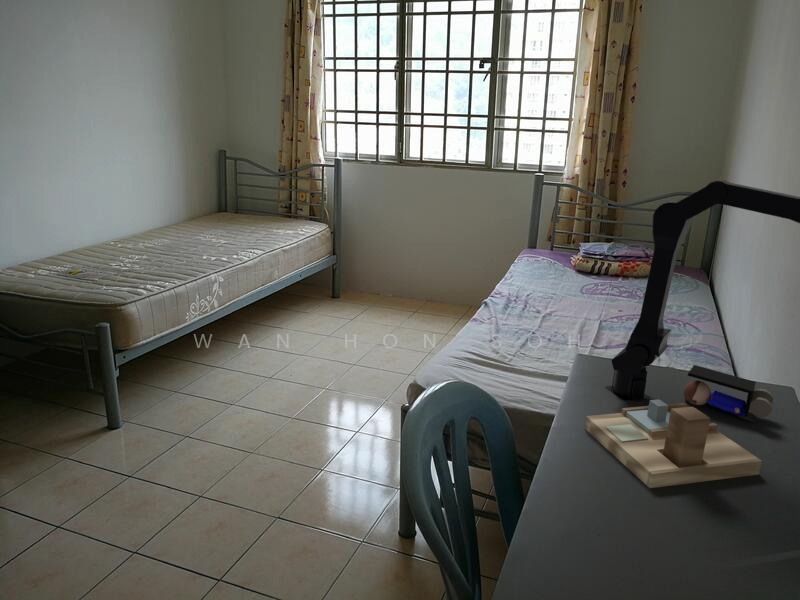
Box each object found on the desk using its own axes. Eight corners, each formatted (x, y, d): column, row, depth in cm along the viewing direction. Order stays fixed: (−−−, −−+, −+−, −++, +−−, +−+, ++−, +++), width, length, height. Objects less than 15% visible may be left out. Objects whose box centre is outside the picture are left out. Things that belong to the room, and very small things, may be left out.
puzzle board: (583, 431, 114) (586, 411, 113) (679, 422, 119) (683, 402, 118) (649, 491, 97) (653, 468, 96) (758, 477, 102) (763, 455, 101)
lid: (625, 415, 114) (628, 396, 113) (662, 412, 116) (665, 393, 115) (648, 433, 108) (651, 413, 107) (686, 429, 110) (690, 409, 109)
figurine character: (765, 422, 124) (683, 393, 132) (778, 387, 122) (694, 360, 129) (762, 435, 119) (677, 405, 126) (776, 399, 116) (688, 370, 123)
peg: (661, 464, 103) (671, 408, 100) (682, 462, 104) (692, 406, 101) (677, 478, 100) (688, 420, 97) (699, 475, 101) (710, 418, 98)
